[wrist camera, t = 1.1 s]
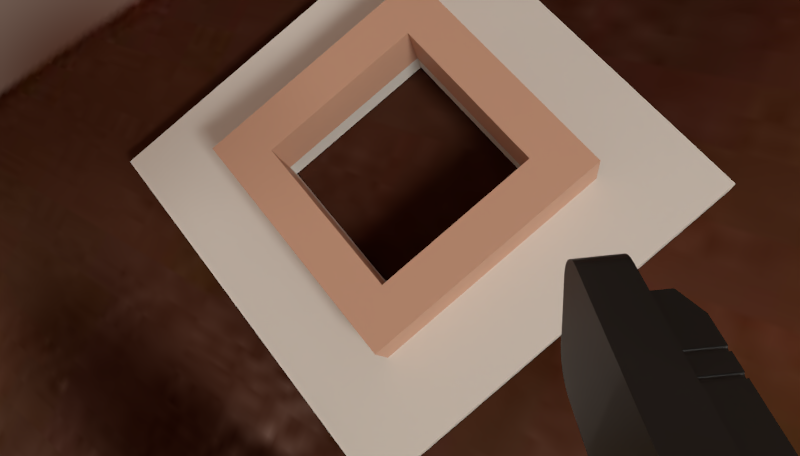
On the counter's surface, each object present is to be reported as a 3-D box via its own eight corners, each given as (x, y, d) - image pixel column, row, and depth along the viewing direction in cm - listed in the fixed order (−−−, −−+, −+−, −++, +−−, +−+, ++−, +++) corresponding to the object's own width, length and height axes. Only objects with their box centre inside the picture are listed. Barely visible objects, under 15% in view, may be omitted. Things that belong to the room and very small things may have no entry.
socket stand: (435, -86, 37) (424, -134, 34) (729, 190, 31) (751, 165, 28) (140, 167, 37) (100, 144, 34) (379, 490, 31) (359, 502, 28)
